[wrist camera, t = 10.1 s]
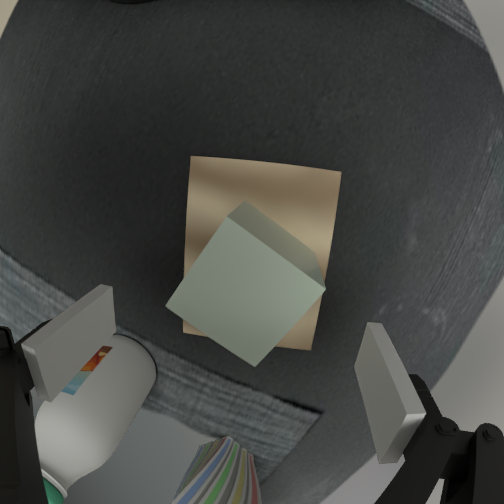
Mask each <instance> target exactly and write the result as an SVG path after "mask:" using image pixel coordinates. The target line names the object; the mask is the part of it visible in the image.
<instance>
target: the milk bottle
mask: <svg viewBox="0 0 504 504" xmlns="http://www.w3.org/2000/svg"><path fill="white" fill-rule="evenodd" d="M155 379H156V369H155V364H154V362H153V359H152V358H151V356H150V354H149V353H148V352H147V351H146V349H144V348H143V347H142V346H141V345H140V344H139V343H137V342H136V341H134V340H132V339H130V338H128V337H125V336H122V335H112V336H111V337H110V339H109V340H108V341H107V342H106V343H105V344H104V345H103V346H102V347H101V348H100V349H99V350H98V351H97V352H96V354H95V355H94V356H93V357H92V358H91V359H90V360H89V361H88V362H87V363H86V364H85V365H84V367H83V368H82V369H81V370H80V371H79V372H78V373H77V374H76V375H75V376H74V378H73V379H72V380H71V381H70V382H69V383H68V384H67V385H66V386H65V388H64V389H63V390H62V391H61V392H60V393H59V394H58V395H57V397H56V398H55V399H54V400H53V401H52V402H51V403H50V402H48V401H46V400H45V401H44V402H43V404H42V405H41V407H40V409H39V411H38V414H37V417H36V421H35V434H36V441H37V448H38V454H39V460H40V466H41V471H42V476H43V481H44V486H45V490H46V494H47V498H48V502H49V504H63V502H64V499H65V497H67V492H66V491H67V489H68V488H69V486H71V485H72V484H73V483H74V482H75V481H77V480H78V479H79V478H81V477H82V476H84V475H86V474H88V473H90V472H92V471H93V470H95V469H97V468H99V467H100V466H101V465H103V464H104V463H105V462H106V461H107V460H108V459H109V458H110V456H111V455H112V454H113V453H114V451H115V449H116V448H117V446H118V445H119V443H120V442H121V440H122V438H123V437H124V435H125V433H126V432H127V430H128V428H129V426H130V425H131V423H132V421H133V420H134V418H135V416H136V414H137V413H138V411H139V409H140V407H141V406H142V404H143V402H144V400H145V399H146V397H147V395H148V393H149V392H150V390H151V388H152V386H153V384H154V382H155Z"/></svg>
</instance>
